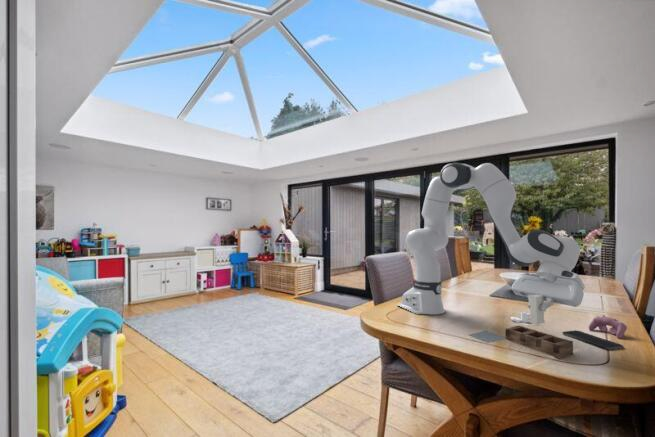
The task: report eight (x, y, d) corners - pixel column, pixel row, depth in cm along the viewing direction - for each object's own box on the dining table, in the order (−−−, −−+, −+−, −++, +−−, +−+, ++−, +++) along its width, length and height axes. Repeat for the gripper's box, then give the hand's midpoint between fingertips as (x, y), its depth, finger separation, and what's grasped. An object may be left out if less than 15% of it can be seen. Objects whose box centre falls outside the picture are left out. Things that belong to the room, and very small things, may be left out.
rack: (505, 340, 104) (505, 328, 104) (519, 336, 107) (518, 325, 107) (559, 359, 89) (559, 345, 89) (573, 354, 92) (572, 341, 93)
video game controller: (626, 342, 106) (630, 323, 107) (619, 338, 104) (624, 319, 105) (592, 332, 115) (596, 315, 116) (586, 329, 113) (590, 311, 115)
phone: (607, 348, 95) (560, 331, 110) (607, 351, 95) (560, 334, 110) (625, 345, 97) (577, 330, 111) (625, 349, 97) (577, 333, 111)
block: (530, 322, 98) (529, 295, 99) (537, 321, 100) (536, 294, 100) (536, 324, 97) (536, 296, 97) (544, 322, 98) (543, 295, 99)
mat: (467, 336, 108) (467, 334, 108) (486, 331, 112) (485, 330, 112) (487, 343, 101) (487, 342, 101) (506, 338, 105) (506, 337, 105)
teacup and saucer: (508, 322, 124) (508, 312, 124) (515, 318, 129) (514, 309, 129) (533, 327, 118) (533, 317, 118) (539, 323, 123) (538, 313, 123)
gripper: (517, 267, 111) (501, 296, 107) (583, 274, 93) (567, 310, 88) (524, 278, 113) (509, 307, 108) (591, 287, 95) (575, 323, 90)
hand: (535, 308), depth 98 cm, fingers closed on block, 2 cm apart
